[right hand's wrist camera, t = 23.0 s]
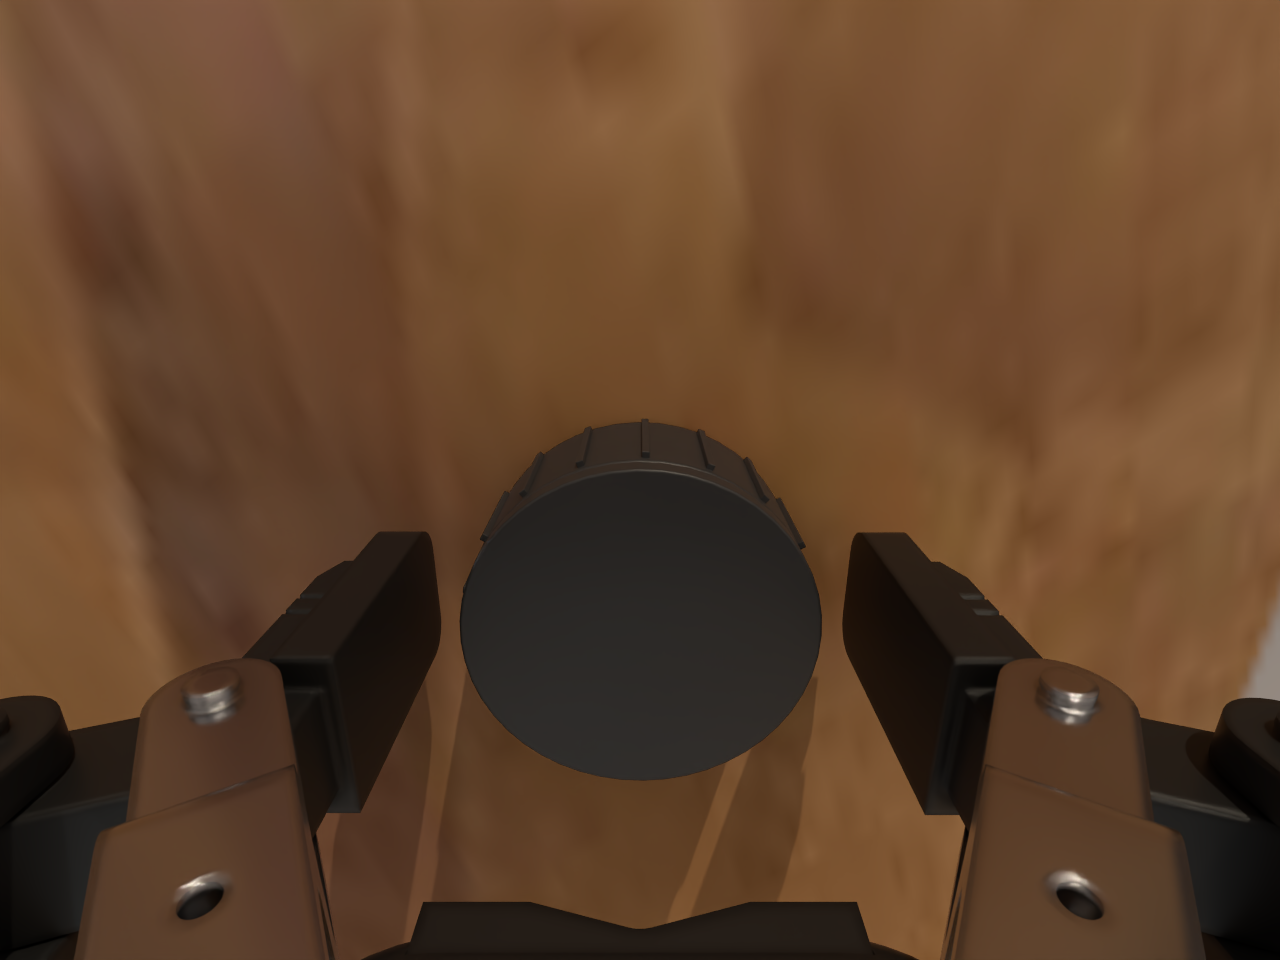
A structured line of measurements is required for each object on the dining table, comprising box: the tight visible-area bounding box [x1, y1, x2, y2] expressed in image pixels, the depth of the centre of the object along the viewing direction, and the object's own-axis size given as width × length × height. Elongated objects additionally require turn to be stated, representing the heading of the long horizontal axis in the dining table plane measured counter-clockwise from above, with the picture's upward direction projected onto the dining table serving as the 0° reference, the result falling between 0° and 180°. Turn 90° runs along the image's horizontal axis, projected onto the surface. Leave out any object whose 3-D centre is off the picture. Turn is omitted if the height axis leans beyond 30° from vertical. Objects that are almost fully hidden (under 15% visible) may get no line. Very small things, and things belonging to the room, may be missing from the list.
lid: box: [460, 419, 822, 780], centre depth 11 cm, size 5×5×2 cm
